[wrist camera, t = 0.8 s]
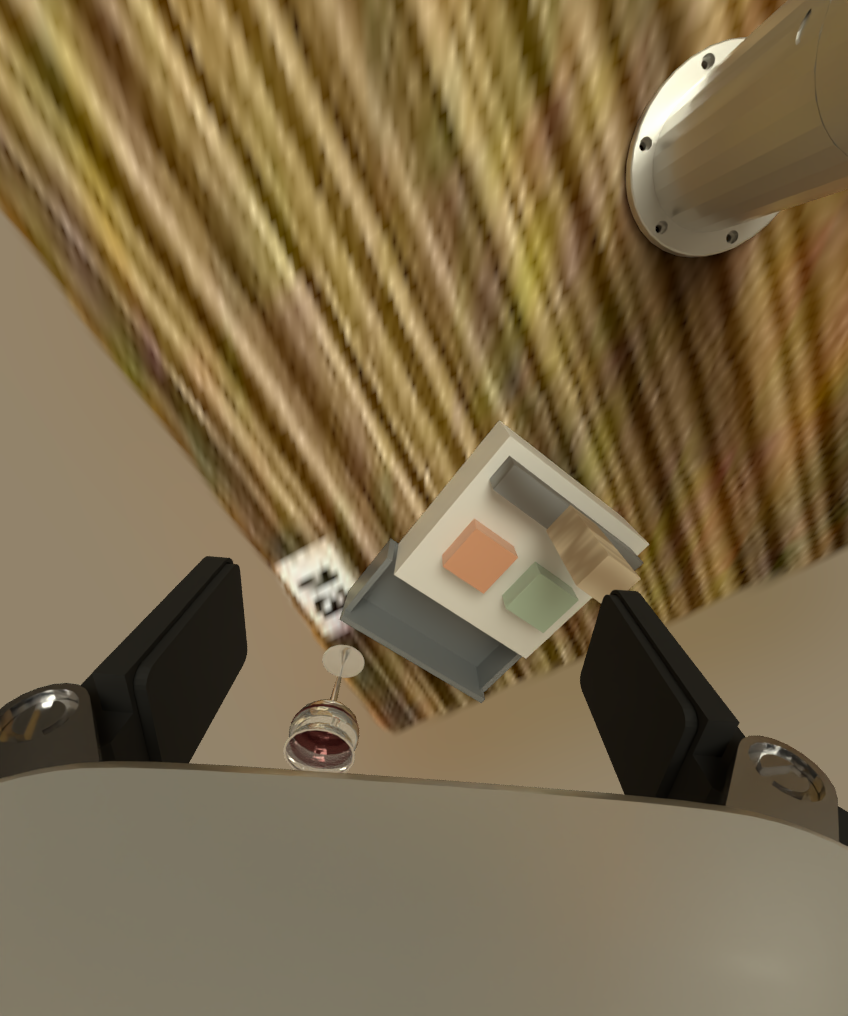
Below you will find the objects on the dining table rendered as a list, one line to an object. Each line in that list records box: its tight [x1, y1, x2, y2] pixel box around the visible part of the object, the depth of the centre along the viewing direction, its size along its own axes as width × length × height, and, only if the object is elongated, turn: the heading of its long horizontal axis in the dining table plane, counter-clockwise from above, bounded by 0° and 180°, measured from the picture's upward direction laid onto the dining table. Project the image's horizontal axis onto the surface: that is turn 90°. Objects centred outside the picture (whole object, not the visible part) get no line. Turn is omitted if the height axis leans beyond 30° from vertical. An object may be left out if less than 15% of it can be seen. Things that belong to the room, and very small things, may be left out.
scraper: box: [490, 456, 643, 603], centre depth 32 cm, size 3×14×10 cm, turn 53°
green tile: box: [502, 562, 578, 633], centre depth 39 cm, size 4×4×2 cm
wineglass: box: [283, 645, 364, 773], centre depth 46 cm, size 7×7×12 cm
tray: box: [340, 539, 522, 703], centre depth 46 cm, size 8×18×5 cm, turn 53°
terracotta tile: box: [442, 518, 518, 594], centre depth 37 cm, size 4×4×2 cm
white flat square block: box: [394, 420, 649, 658], centre depth 41 cm, size 16×16×6 cm
